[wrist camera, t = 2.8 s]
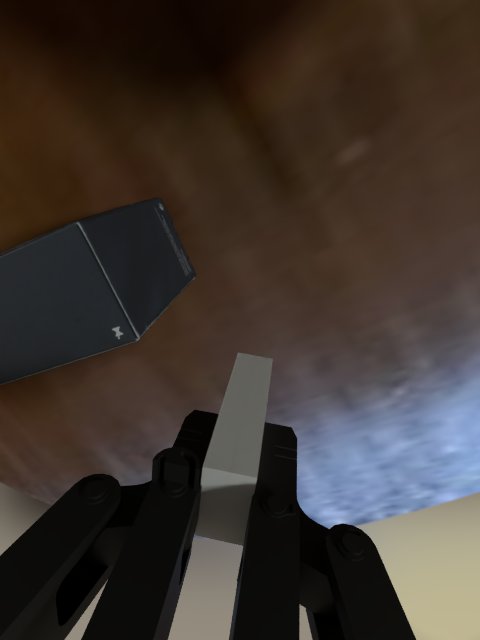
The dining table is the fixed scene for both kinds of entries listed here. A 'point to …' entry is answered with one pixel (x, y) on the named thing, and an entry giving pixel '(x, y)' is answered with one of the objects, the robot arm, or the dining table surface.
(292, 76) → the dining table surface
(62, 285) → the small box
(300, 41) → the dining table surface
